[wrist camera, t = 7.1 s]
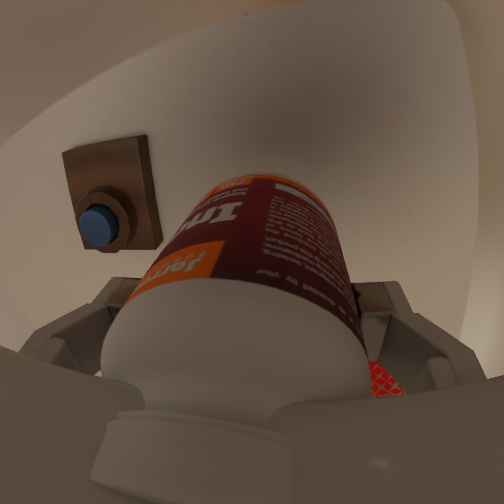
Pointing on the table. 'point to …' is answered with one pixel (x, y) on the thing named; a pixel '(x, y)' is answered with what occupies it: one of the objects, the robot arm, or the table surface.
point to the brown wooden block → (116, 190)
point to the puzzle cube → (383, 382)
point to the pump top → (99, 225)
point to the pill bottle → (231, 347)
